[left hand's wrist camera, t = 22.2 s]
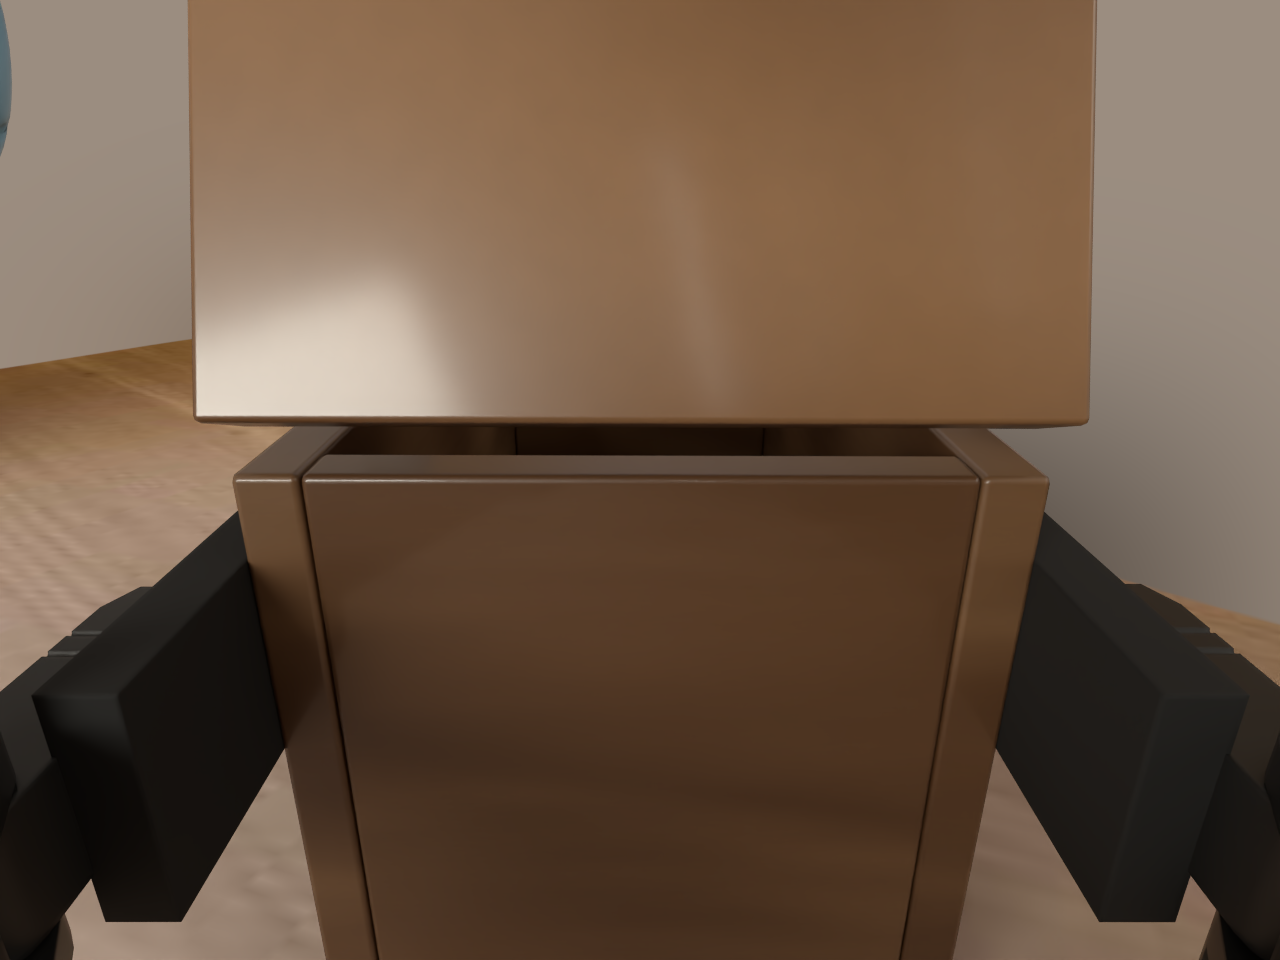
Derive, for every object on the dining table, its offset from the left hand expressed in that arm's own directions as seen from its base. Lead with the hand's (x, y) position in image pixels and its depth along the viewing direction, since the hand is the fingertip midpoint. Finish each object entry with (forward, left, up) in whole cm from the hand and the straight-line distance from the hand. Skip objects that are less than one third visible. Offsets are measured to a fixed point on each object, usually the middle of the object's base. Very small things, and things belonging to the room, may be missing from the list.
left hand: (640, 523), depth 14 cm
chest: (+3, -3, -7) cm, 8 cm away
